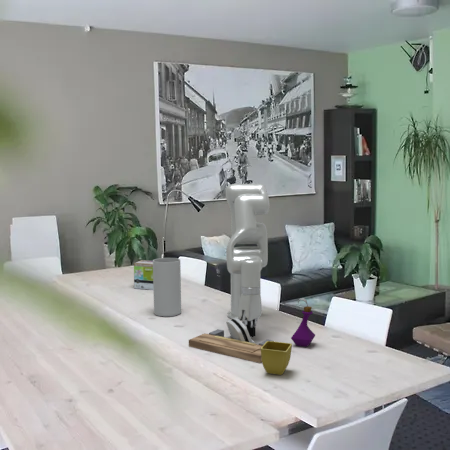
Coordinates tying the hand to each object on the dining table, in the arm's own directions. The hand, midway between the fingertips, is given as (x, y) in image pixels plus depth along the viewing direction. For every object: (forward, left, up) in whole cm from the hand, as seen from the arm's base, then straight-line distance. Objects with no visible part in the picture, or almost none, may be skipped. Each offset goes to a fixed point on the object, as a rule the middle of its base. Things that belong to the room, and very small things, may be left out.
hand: (251, 336), depth 225 cm
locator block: (+7, -12, -1) cm, 14 cm away
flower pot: (+24, +26, -2) cm, 36 cm away
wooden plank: (+15, +1, -1) cm, 15 cm away
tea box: (-46, -97, -2) cm, 107 cm away
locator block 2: (+7, +11, -1) cm, 14 cm away
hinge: (+5, -2, -2) cm, 5 cm away
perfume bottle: (-6, +20, -2) cm, 21 cm away
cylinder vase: (-11, -53, -2) cm, 54 cm away
